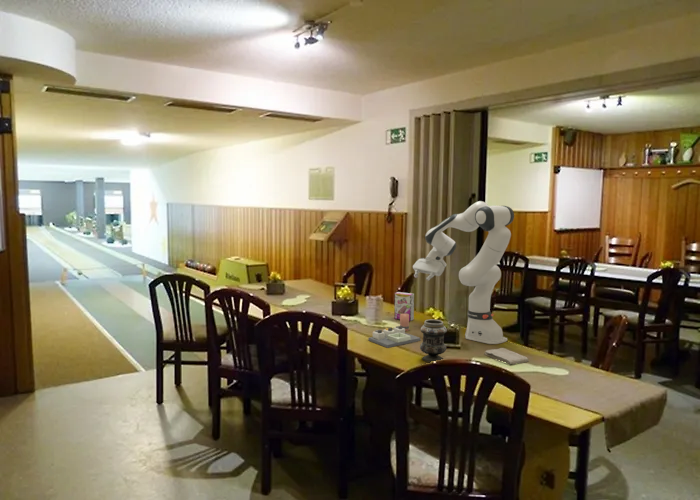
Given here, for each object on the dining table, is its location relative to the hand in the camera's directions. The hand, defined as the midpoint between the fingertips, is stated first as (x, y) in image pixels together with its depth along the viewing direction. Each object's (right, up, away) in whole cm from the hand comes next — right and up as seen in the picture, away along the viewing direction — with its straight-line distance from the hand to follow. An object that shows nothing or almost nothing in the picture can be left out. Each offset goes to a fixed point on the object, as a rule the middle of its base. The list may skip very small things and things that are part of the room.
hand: (421, 278), depth 287 cm
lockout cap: (-10, -29, -4) cm, 31 cm away
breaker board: (-18, -31, -25) cm, 44 cm away
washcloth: (+32, -35, -54) cm, 71 cm away
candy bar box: (-8, -27, +21) cm, 35 cm away
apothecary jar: (-2, -35, -56) cm, 65 cm away
